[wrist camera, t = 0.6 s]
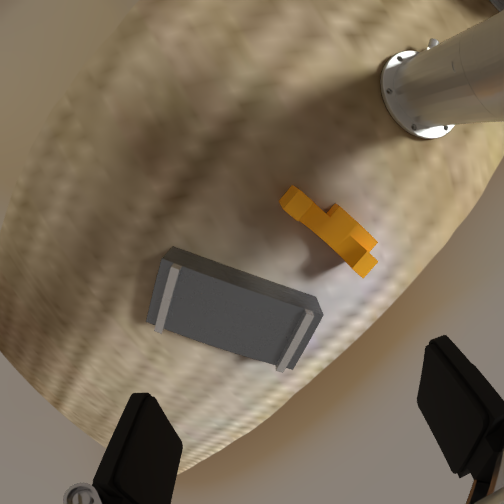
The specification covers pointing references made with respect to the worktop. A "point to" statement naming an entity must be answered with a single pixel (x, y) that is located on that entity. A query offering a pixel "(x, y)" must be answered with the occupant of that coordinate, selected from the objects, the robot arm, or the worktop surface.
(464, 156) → the worktop surface
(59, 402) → the worktop surface
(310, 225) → the orange stepped block
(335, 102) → the worktop surface
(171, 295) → the mounting block
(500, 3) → the mate gourd
